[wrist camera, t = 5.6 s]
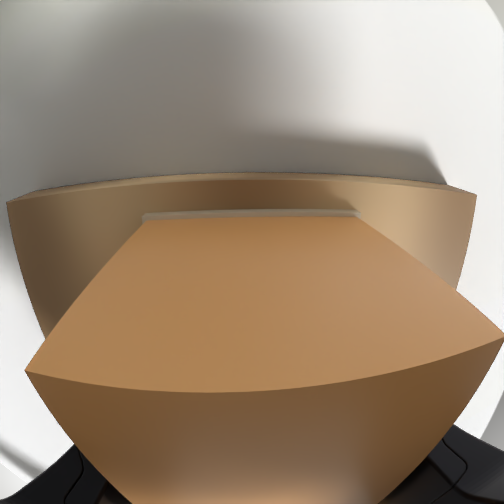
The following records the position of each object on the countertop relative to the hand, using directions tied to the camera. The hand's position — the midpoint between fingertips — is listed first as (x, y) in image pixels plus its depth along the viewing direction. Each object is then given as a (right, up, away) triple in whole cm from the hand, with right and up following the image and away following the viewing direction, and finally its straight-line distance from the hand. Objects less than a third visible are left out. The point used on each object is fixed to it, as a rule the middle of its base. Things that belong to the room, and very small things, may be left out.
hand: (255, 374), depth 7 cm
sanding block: (0, 0, +1) cm, 1 cm away
